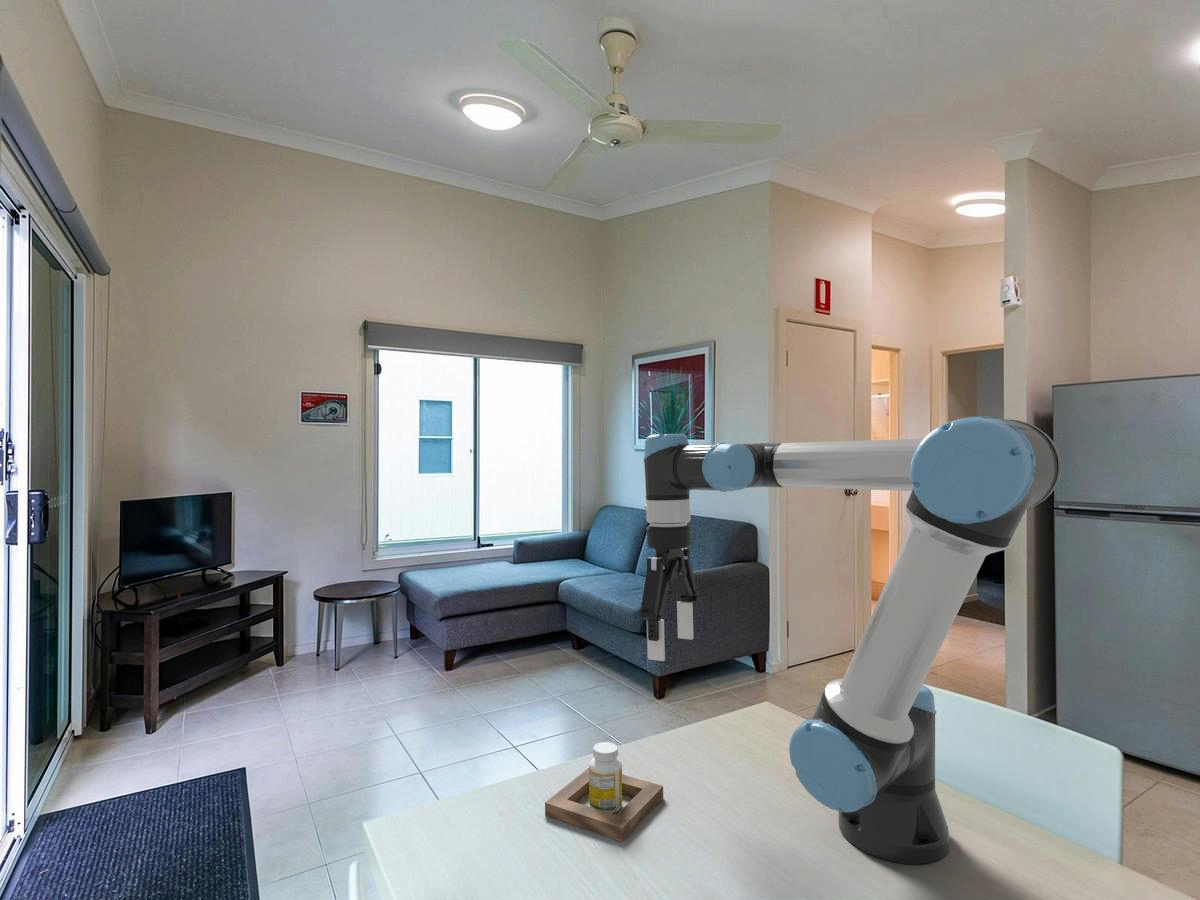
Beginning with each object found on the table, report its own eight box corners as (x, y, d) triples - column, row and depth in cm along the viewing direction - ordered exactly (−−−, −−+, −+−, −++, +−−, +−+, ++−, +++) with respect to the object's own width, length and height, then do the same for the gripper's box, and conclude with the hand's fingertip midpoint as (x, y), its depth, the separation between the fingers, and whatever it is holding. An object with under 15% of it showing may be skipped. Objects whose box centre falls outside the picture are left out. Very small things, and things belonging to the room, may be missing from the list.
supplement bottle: (605, 819, 103) (604, 758, 103) (582, 806, 107) (581, 747, 107) (629, 806, 107) (628, 747, 107) (606, 793, 111) (605, 737, 111)
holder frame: (663, 797, 110) (663, 785, 110) (622, 841, 98) (622, 828, 98) (591, 776, 117) (591, 765, 117) (545, 815, 105) (545, 802, 105)
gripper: (674, 517, 126) (677, 628, 126) (616, 531, 104) (620, 666, 104) (712, 518, 123) (715, 632, 122) (660, 532, 101) (664, 672, 100)
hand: (671, 648), depth 113 cm, fingers open, 13 cm apart
